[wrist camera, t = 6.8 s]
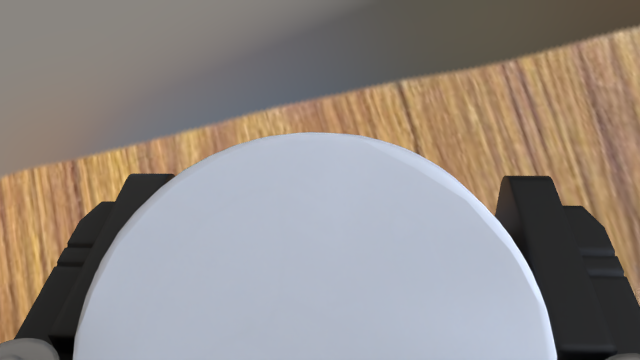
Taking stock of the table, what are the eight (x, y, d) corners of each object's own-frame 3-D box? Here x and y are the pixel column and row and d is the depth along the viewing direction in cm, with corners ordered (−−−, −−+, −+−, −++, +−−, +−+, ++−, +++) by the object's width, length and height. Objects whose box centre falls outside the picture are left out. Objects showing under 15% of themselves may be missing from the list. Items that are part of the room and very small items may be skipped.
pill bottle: (203, 231, 16) (-60, 197, 6) (403, 149, 16) (466, -21, 6) (282, 443, 15) (127, 798, 5) (494, 360, 15) (737, 565, 5)
